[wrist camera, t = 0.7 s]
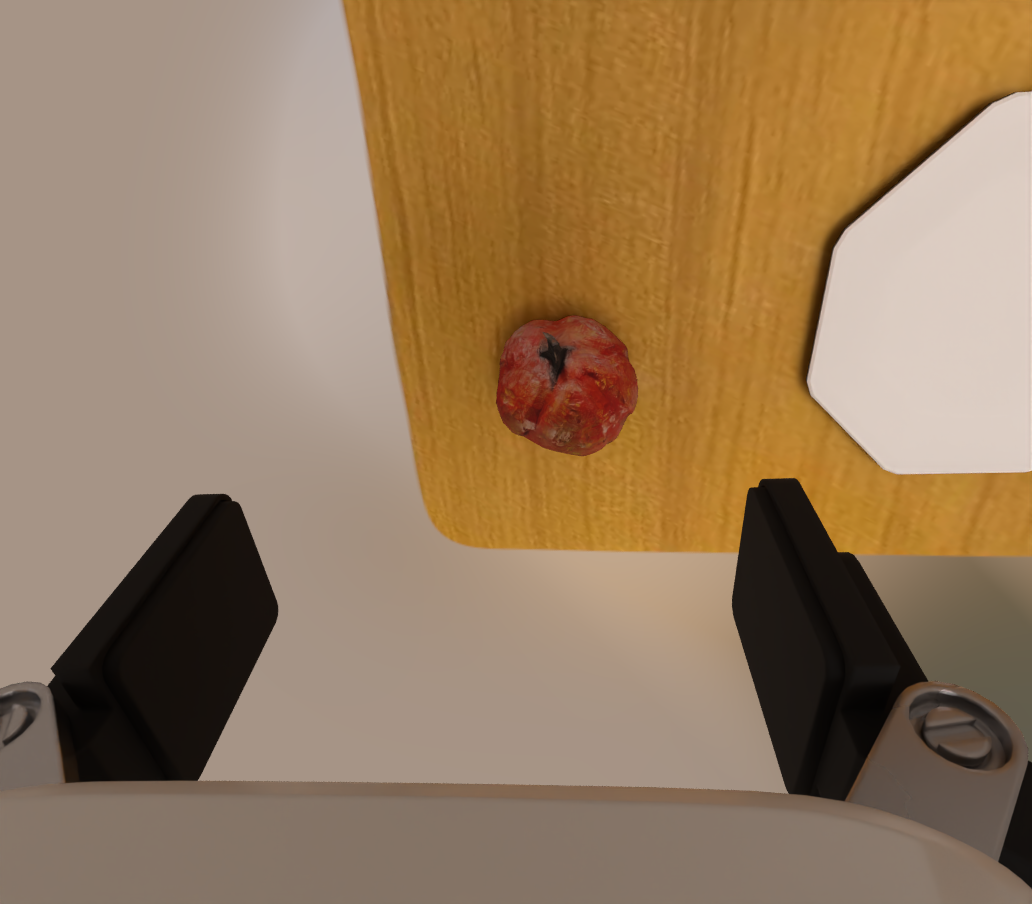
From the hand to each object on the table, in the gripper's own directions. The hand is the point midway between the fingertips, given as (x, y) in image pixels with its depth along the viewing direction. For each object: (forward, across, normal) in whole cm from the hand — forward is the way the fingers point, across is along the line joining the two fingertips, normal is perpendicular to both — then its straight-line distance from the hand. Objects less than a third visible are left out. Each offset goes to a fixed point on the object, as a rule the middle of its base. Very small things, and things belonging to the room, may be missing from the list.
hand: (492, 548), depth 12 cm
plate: (+25, -24, +5) cm, 35 cm away
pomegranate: (+25, -1, +8) cm, 26 cm away
